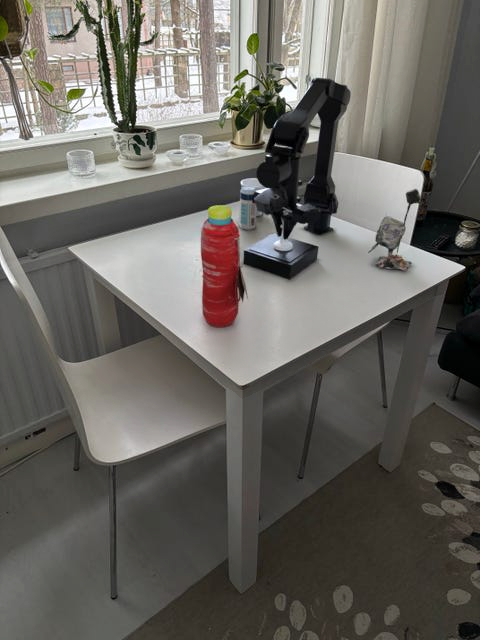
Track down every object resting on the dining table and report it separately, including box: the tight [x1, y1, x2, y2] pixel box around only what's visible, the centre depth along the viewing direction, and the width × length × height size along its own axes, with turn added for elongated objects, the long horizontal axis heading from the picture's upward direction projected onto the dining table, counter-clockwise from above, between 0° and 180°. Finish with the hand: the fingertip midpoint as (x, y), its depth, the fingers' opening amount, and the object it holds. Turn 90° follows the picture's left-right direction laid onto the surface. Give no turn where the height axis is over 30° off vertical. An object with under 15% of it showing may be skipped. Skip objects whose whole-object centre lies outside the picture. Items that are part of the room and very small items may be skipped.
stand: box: [242, 232, 319, 281], centre depth 126 cm, size 14×14×4 cm
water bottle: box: [200, 204, 249, 328], centre depth 96 cm, size 12×8×25 cm, turn 51°
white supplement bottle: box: [239, 186, 257, 231], centre depth 143 cm, size 5×5×12 cm
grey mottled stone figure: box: [367, 188, 422, 272], centre depth 122 cm, size 8×11×20 cm
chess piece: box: [274, 209, 293, 251], centre depth 123 cm, size 5×5×10 cm
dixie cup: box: [240, 177, 266, 217], centre depth 154 cm, size 8×8×10 cm
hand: (282, 237), depth 124 cm, fingers closed on chess piece, 2 cm apart
